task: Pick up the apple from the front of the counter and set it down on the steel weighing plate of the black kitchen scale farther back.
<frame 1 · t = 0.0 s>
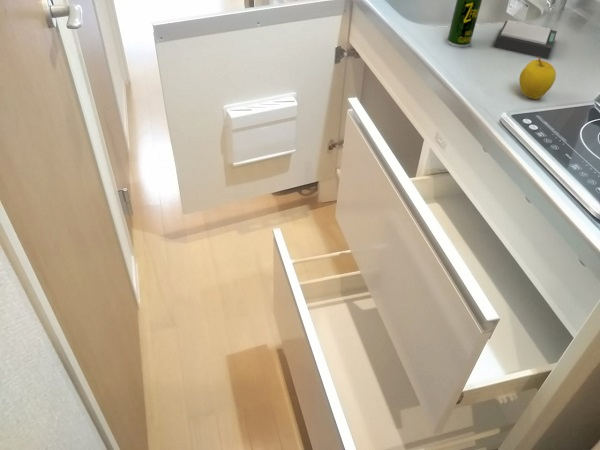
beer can: (458, 43, 122), on the countertop
scale: (524, 44, 123), on the countertop
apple: (529, 97, 105), on the countertop
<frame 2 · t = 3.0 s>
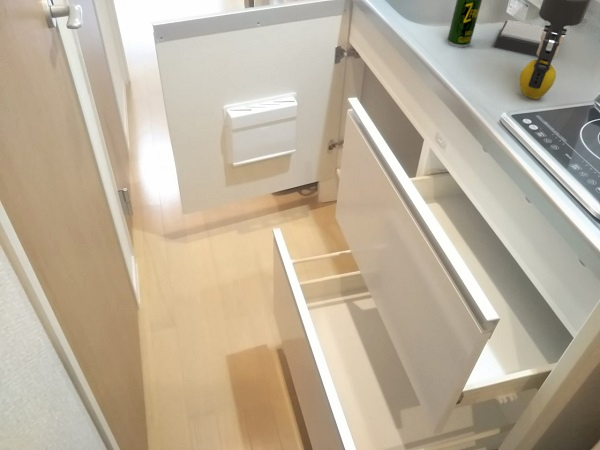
hand: (536, 79, 102), 4 cm above the countertop, tool pointing down, fingers closed on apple, 6 cm apart
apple: (529, 97, 105), on the countertop, touching gripper
everything else where it was.
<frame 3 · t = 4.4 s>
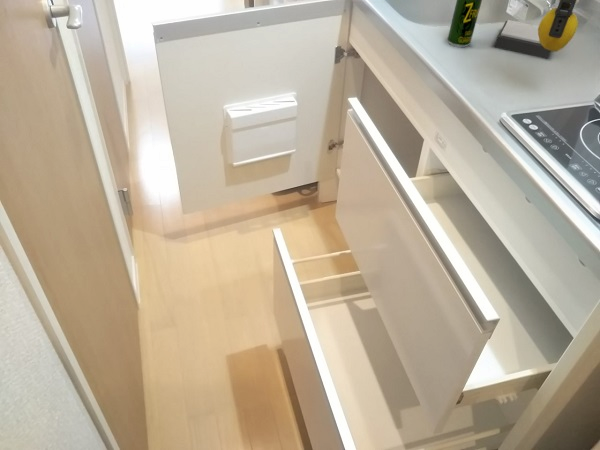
hand: (556, 29, 95), 14 cm above the countertop, tool pointing down, fingers closed on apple, 6 cm apart
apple: (549, 50, 98), point 10 cm above the countertop, touching gripper
everything else where it was.
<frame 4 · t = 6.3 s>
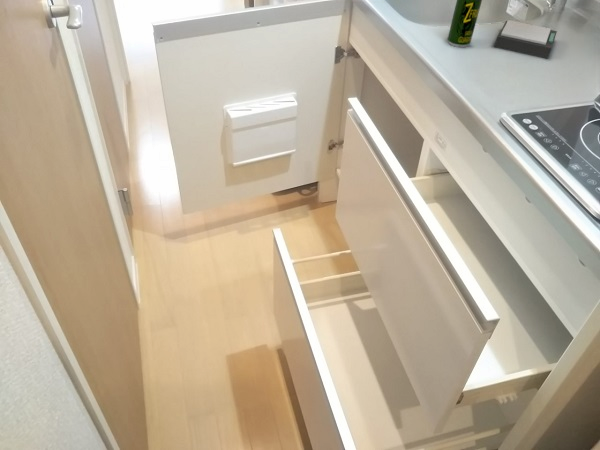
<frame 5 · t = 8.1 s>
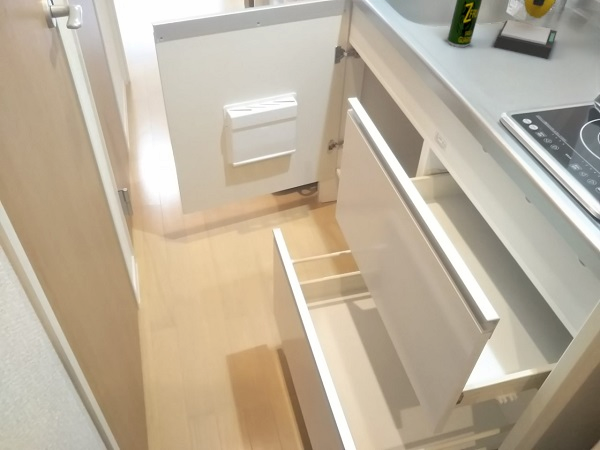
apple: (533, 17, 119), point 6 cm above the countertop, touching gripper
everything else where it was.
when the fingers open (7 cm above the countertop, at t = 9.6 s): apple stays where it is, resting on scale.
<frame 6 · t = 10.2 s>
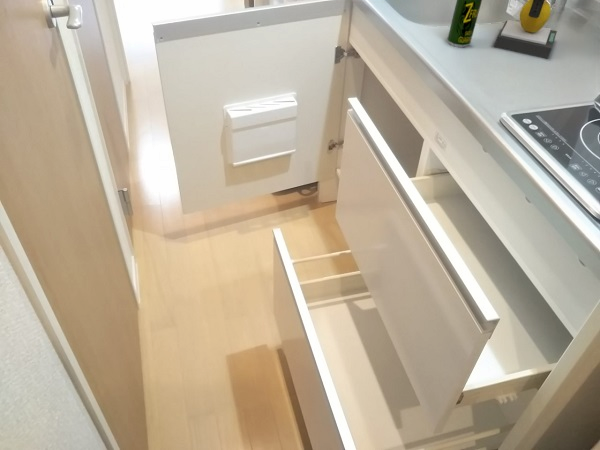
hand: (535, 10, 118), 8 cm above the countertop, tool pointing down, fingers open, 8 cm apart
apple: (528, 32, 121), point 3 cm above the countertop, touching scale
everything else where it was.
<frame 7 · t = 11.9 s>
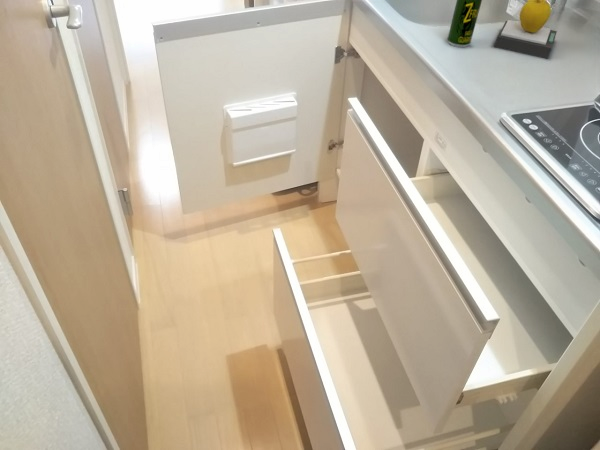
nothing on the countertop moved.
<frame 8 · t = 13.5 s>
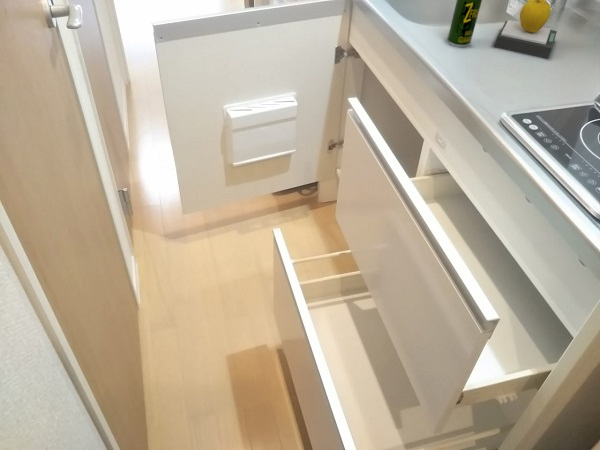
nothing on the countertop moved.
at the end: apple inside the target area on the scale (0.5 cm from its centre), point 2.9 cm above the scale's base; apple touching scale; the gripper is holding nothing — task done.
